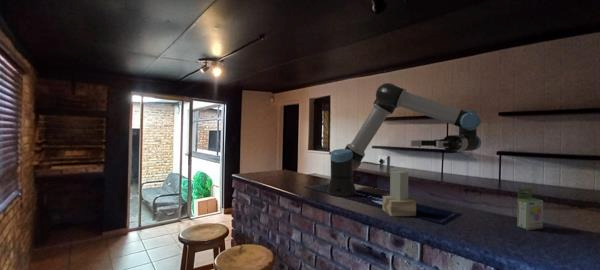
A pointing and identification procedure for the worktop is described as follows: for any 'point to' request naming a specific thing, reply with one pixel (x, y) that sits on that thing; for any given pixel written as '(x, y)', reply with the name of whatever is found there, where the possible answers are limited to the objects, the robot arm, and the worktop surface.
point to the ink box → (529, 211)
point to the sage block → (399, 185)
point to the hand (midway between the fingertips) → (423, 144)
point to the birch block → (399, 206)
